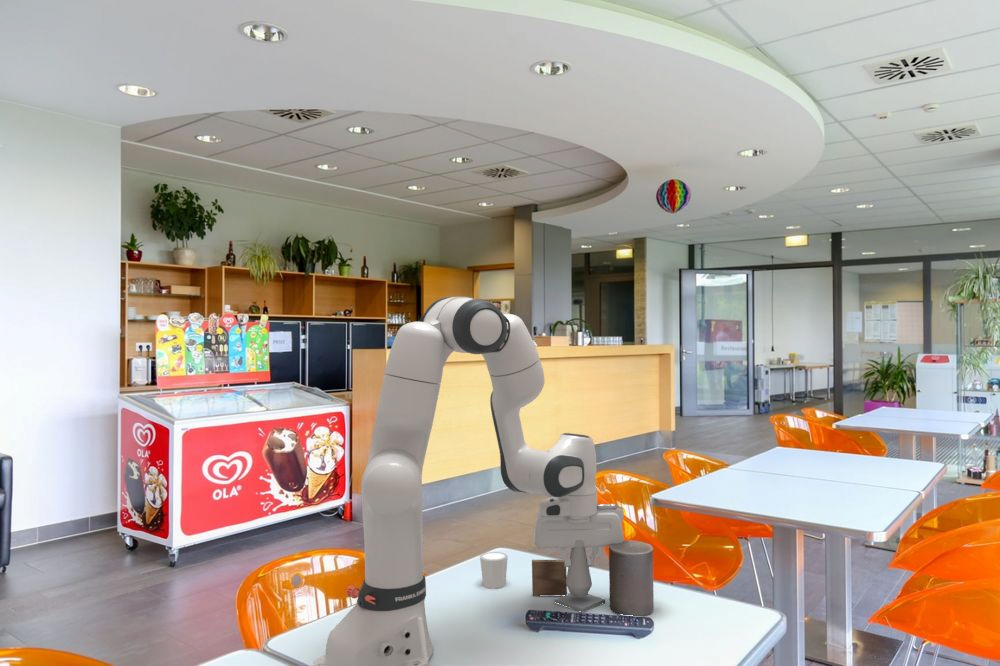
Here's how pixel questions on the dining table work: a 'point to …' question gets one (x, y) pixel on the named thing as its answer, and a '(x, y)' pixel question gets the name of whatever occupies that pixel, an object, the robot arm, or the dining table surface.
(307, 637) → the dining table surface
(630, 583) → the pillar candle
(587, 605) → the slate mat
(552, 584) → the walnut box
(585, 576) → the salt shaker
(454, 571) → the dining table surface
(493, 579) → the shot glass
